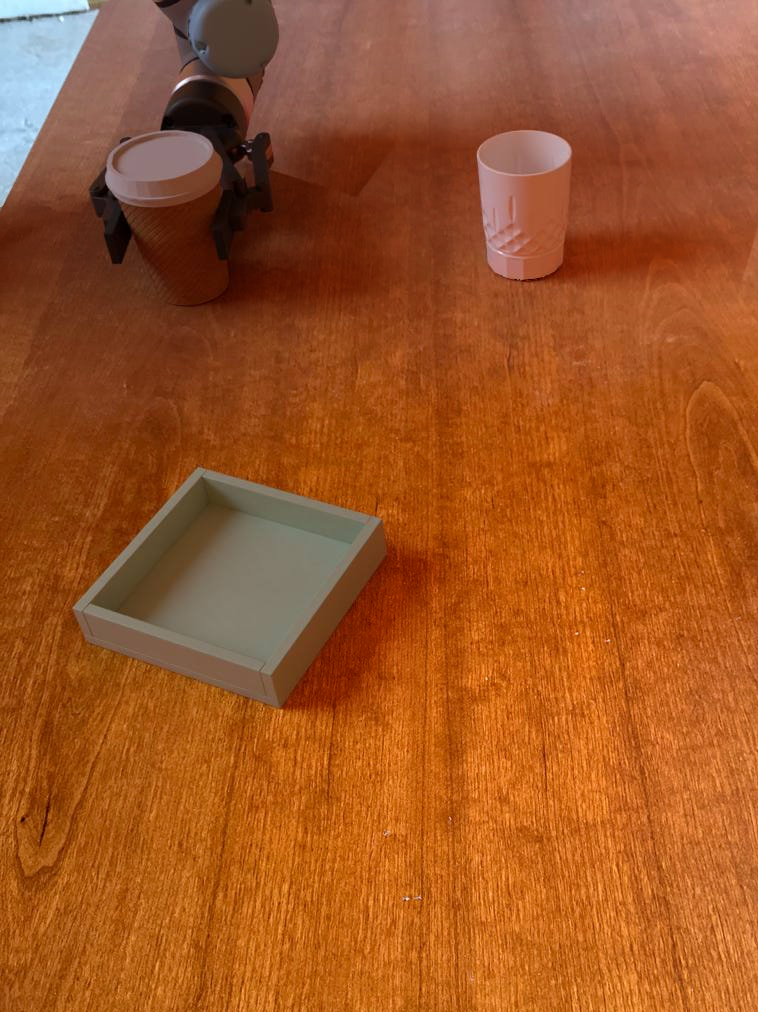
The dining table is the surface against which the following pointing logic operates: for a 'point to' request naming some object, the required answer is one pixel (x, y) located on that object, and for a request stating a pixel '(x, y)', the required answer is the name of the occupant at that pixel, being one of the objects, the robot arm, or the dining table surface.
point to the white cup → (524, 201)
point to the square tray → (234, 585)
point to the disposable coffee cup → (172, 211)
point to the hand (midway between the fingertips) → (166, 247)
